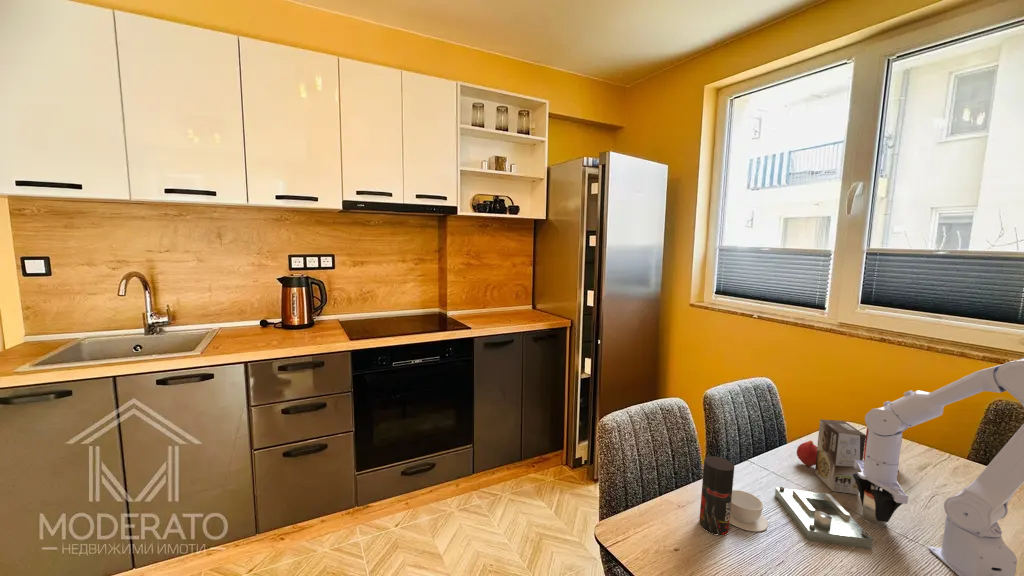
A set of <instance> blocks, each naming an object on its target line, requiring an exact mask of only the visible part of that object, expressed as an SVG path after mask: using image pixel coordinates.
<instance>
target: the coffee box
mask: <svg viewBox="0 0 1024 576" xmlns="http://www.w3.org/2000/svg"><path fill="white" fill-rule="evenodd" d="M818 427H819V428H818V437H817V438H818V439H817V445H816V446H817V456H816V465H814V466H815V468H814V474H815V475H816V476H817V477H818V478H819V479H820V480H821V481H822V482H823V483H824V484H825V485H826V486H827V487H828V488H829V489H830V490H831V492H832V491H833V492H838V493H845V494H851V495H860V493H859V489H858V486H857V483H856V481H855V479H854V477H853V474H858V472H860V470H859V469H856V468H854V461H855V460H860V461H864V458H863V456H864V448H865V439H866V433H863V432H862V431H860V430H858V429H857V428H855V426H852V425H851V424H849V423H848V422H847V421H844V420H836V419H835V420H833V419H822V418H821V419H819V426H818Z"/></svg>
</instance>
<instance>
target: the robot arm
mask: <svg viewBox="0 0 1024 576" xmlns="http://www.w3.org/2000/svg"><path fill="white" fill-rule="evenodd" d="M982 392H991V393H1001V394H1002V393H1003V392H1008V393H1009V394H1010V395H1011V396H1012V397H1013V398H1014V399H1016V400H1018V401H1019V402H1020V404H1021V405H1022V407H1023V408H1024V357H1022V358H1020V359H1017V360H1011V361H1007V362H1005V363H1003V364H999V365H995V366H992V367H988V368H983V369H980V370H977V371H974V372H972V373H970V374H968V375H965V376H963V377H961V378H959V379H957V380H955V381H952V382H951V383H948V384H946V385H943V386H942V387H940V388H938V389H936V390H933V391H932V392H929V391H924V390H920V389H919V390H915V391H914V390H912V389H911V390H908V391H905V392H903V395H904V396H902V397H900V398H898V399H895V400H893V401H890V400H887V401H884V402H883V403H882V405H883V406H881V407H878V408H877V407H876V408H871V410H869V411H868V412H867V413H866V414H865V416H864V422H865V424H866V427H867V426H868V428H869V431H868V436H867V445H866V453H865V461H864V460H863V461H860V460H855V461H854V468H856V469H859V470H860V472H858V474H853V477H854V479H855V481H856V483H857V486H858V489H859V497H860V503H861V506H862V507H863V499H864V490H865V489H870V488H871V484H875V485H877V486H878V489H877V490H874V489H871V491H872V493H873V496H874V500H875V516H876V519H877V520H878V521H882V522H887V523H889V522H890V520H891V518H892V516H893V515H894V513H895V511H896V510H897V509H898V508H899V507H900V506H902V505H908V503H909V502H908V501H909V495H908V494H907V493H906V492H905V491H904V489H903V488H902V486H901V485H900V483H899V482H898V473H899V466H900V465H899V464H900V458H901V457H900V456H901V449H902V443H901V440H902V441H903V432H905V431H906V430H908V428H912V427H915V426H918V425H920V424H923V423H926V422H928V421H930V420H933V419H936V418H938V417H941V416H942V415H943V414H944V408H945V406H947V405H948V406H949V405H950V404H952V403H955V402H959V401H962V400H964V399H966V398H970V397H972V396H975V395H976V394H977V395H978V394H981V393H982ZM976 477H977V478H976V479H974V480H973V481H972V482H971V483H970V484H969V485H968V486H966V487H965V488H963V489H962V490H961V491H960V492H958V493H956V494H955V495H952V496H949V497H947V498H946V499H945V500H944V504H943V508H944V512H945V514H946V517H945V523H944V529H943V530H944V532H943V535H942V542H941V543H942V544H941V547H936V546H932V545H931V546H928V550H929V551H930V552H931V553H933V554H934V555H935V556H936V557H937V558H938V559H940V560H941V561H942V562H943V563H944V564H945V565H946V567H949V569H951V570H952V571H953V572H954V573H955V574H956V575H957V576H1016V571H1017V564H1018V558H1017V556H1016V554H1015V552H1013V550H1012V549H1011V548H1009V546H1008V545H1007V544H1006V542H1005V541H1004V540H1003V536H1002V534H1003V530H1001V526H1000V524H999V523H998V522H999V521H1000V520H1002V519H1004V518H1006V516H1007V515H1008V511H1009V508H1008V504H1009V502H1010V500H1011V499H1012V498H1013V497H1014V494H1015V493H1016V492H1017V491H1018V490H1019V489H1020V488H1021V486H1023V484H1024V423H1023V424H1022V425H1021V426H1020V427H1019V428H1018V430H1017V431H1015V433H1014V434H1013V436H1012V437H1011V438H1010V439H1009V440H1008V441H1007V443H1006V444H1005V445H1004V446H1003V447H1002V448H1001V450H1000V451H998V453H997V454H996V455H995V456H994V458H992V460H991V461H990V462H989V464H987V466H986V467H985V468H984V469H983V471H981V472H980V474H979V475H978V476H976Z"/></svg>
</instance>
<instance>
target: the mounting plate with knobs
mask: <svg viewBox="0 0 1024 576" xmlns="http://www.w3.org/2000/svg"><path fill="white" fill-rule="evenodd" d="M774 490H775V491H774V496H775V498H776V499H777V501H778V502H779V503H780V505H781V506H782V507H783V508H784V510H785V511H786V513H787V514H788V515H789V516H790V518H791V519H792V520H793V522H794V523H795V524H796V526H797V527H798V528H799V530H800V531H801V533H802V534H803V536H804V537H805V538H806V539H807V540H808V541H811V542H820V543H826V544H833V545H841V546H847V547H853V548H859V549H860V548H861V549H867V550H872V549H873V544H874V543H873V542H874V540H873V538H872V537H871V536H870V535H869V534H868V533H867V532H866V531H865V530H864V529H863V527H861V525H859V523H857V521H856V520H855V519H854V518H853V517H851V514H850V512H848V511H847V510H846V509H845V508H844V507H843V506H842V505H841V504H840V503H839V502H838V501H837V499H835V497H834V496H832V495H831V494H830V493H827V492H826V493H825V492H824V493H823V492H815V491H814V492H813V491H807V490H799V489H791V488H790V489H789V488H785V487H782V486H780V487H775V489H774ZM815 508H817V509H823V510H824V509H825V510H826V511H827V512H828V513H829V514H827V512H826V513H825V512H823V511H819V510H816V509H815Z"/></svg>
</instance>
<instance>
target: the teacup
mask: <svg viewBox="0 0 1024 576" xmlns="http://www.w3.org/2000/svg"><path fill="white" fill-rule="evenodd" d="M763 507H764V503H763V501H761V499H760V498H759V497H758V496H755V495H754V494H752V493H749V492H747V491H744V490H740V489H739V490H737V489H732V499H731V511H730V522H729V524H731V525H732V526H734V527H736V528H738V529H742V530H744V531H749V532H763V531H765V530H767V529H768V527H769V522H768V520H767V518H766V517H765V516H764V515H763V514H762V512H763V509H764V508H763Z"/></svg>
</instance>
